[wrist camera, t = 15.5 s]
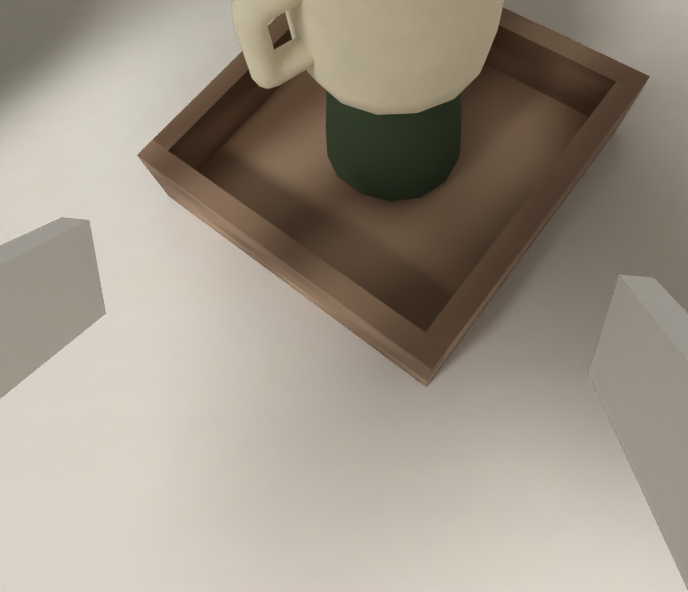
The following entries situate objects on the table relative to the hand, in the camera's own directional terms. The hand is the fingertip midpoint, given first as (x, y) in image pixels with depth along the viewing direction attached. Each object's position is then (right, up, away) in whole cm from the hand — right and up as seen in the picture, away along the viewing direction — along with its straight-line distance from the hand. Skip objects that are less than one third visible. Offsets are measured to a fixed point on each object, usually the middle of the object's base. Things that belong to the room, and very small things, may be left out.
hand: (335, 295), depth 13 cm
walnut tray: (+2, +7, +13) cm, 15 cm away
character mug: (+3, +7, +12) cm, 14 cm away
